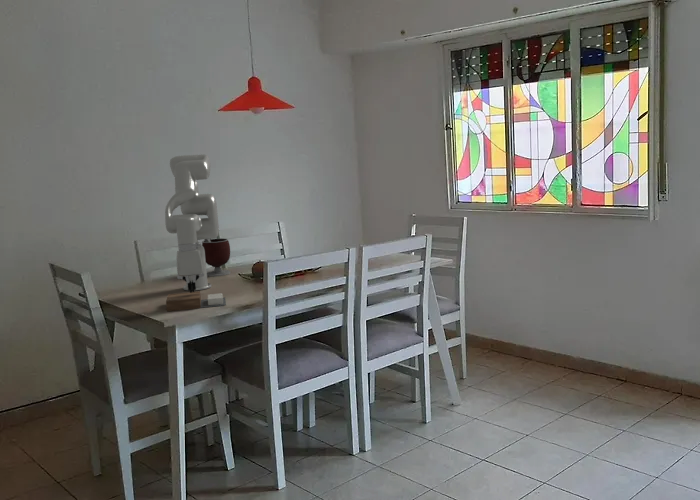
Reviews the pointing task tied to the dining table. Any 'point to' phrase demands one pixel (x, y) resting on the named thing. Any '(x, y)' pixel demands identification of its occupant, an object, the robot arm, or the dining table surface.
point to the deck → (183, 301)
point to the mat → (205, 304)
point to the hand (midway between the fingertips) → (192, 291)
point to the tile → (215, 299)
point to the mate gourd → (217, 255)
